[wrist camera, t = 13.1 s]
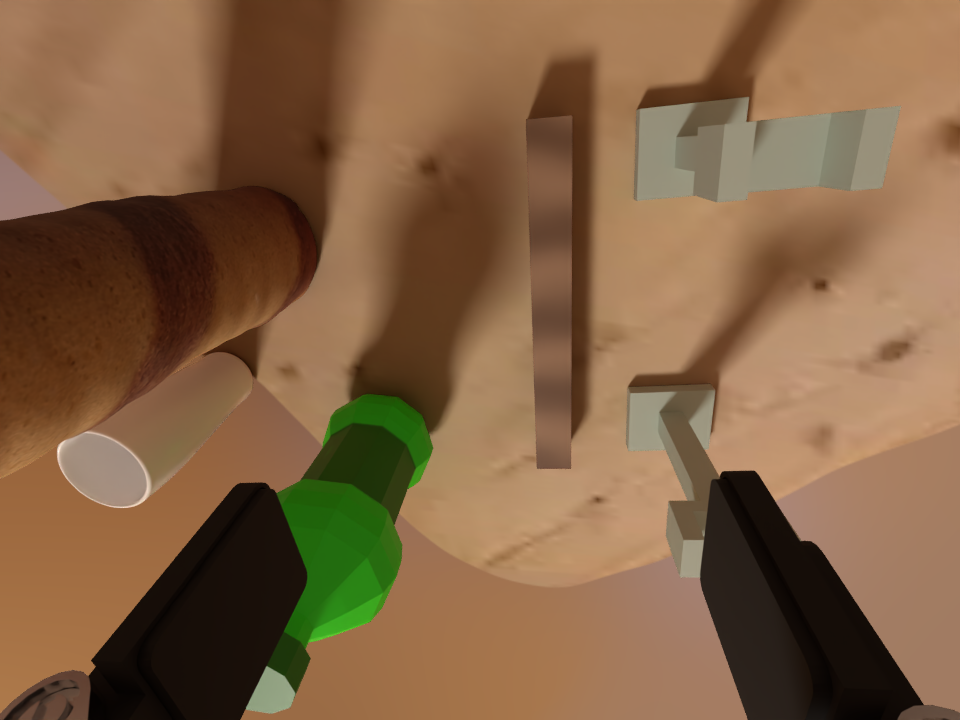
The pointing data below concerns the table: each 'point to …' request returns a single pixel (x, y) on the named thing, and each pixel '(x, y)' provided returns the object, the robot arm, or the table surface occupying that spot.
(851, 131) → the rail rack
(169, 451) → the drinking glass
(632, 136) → the table surface
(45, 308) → the wafer roll
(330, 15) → the table surface
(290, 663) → the plastic bottle
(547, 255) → the walnut rail
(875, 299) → the table surface
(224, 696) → the robot arm
